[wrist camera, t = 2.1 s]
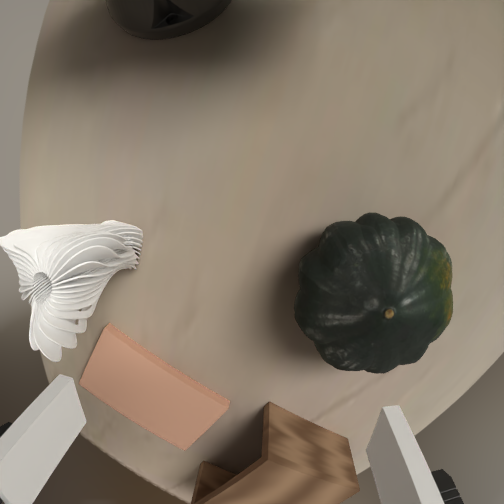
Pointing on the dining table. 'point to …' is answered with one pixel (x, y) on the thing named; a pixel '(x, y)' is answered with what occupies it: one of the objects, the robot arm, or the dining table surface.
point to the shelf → (285, 467)
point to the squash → (374, 293)
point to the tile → (150, 390)
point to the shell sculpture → (67, 275)
